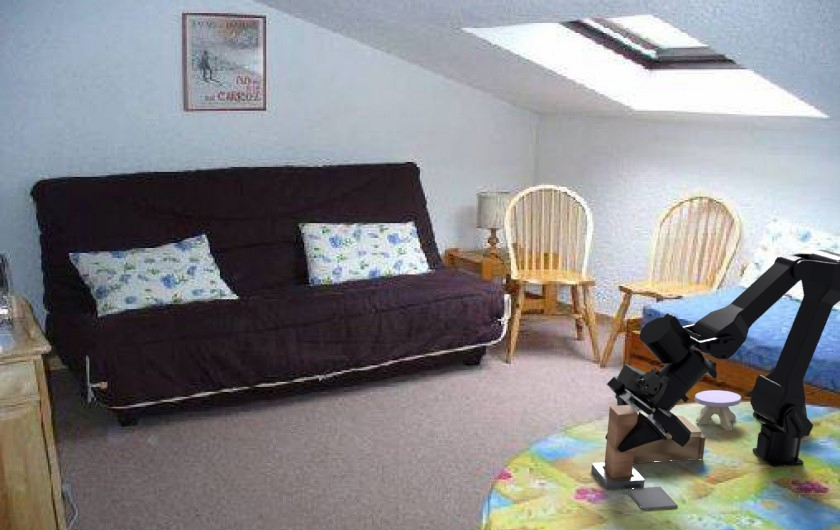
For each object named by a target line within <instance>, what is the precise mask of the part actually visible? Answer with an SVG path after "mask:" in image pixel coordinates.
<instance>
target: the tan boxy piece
mask: <svg viewBox="0 0 840 530" xmlns="http://www.w3.org/2000/svg"><path fill="white" fill-rule="evenodd" d="M705 444H706V436H704V435H703V434H702V433H701V437H691V438H690V440H689V441H688V442H687V443H686V444H685V445H684V447H681V446H680V445H679V444H677V443H676V442H675V441H674V440H673V439H667V440H664V439H661V440H658V441H654V442H651V443H647V444H644V445H641V446H638V447H636V448H635V449H634V459H633V465H634V463H636V464H646V463H645V462H651V463H655V462H654V461H666V462H674V461H673V460H681V461H689V460H688V459H696V460H698V459H703V460H704V454H705V453H704V452H705V446H706V445H705ZM670 460H672V461H670Z"/></svg>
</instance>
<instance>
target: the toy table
mask: <svg viewBox="0 0 840 530" xmlns="http://www.w3.org/2000/svg"><path fill="white" fill-rule="evenodd" d="M694 401H695V403H697V404H699V405H702V406H703V407H702V408H701V409H700V414H699V415H698V416H697V417H696V419H695V423H696V422H697V423H698V424H702V425H708V424H707V423H709V424H710V419H711V418H712V416H714V415H717V416H718V418H719V420H720V422H719V423H720V428H721V429H724V430H725V431H726V432H731V431H732V430H733V424H732V423H731V422H732V421H736V419H737V417H736V414H735V413H734V412H733V411H732V410H731V409H730V407H734V406H738V405H740V403H741V401H742V396H741V395H740V394H738V393H736V392H733V391H727V390H718V389H717V390H715V389H713V390H704V391H700V392H697V393H696V394H695V395H694ZM697 423H696V424H697ZM698 424H697V425H698Z"/></svg>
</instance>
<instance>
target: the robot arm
mask: <svg viewBox="0 0 840 530" xmlns="http://www.w3.org/2000/svg"><path fill="white" fill-rule="evenodd" d="M800 281H801V285H802V292H803V297H802V299H801V302H800V305H799V307H798V309H797V312H796V315H795V317H794V318H793V322H792V325H791V327H790V330H789V332H788V335H787V337H786V339H785V342H784V345H783V348H782V350H781V352H780V354H779V357H778V360H777V362H776V364H775V367H774V368H775V369H774V370H773V371H772V372H771V373H770V372H769V373H768V374H766V375H765V376H764V375H762V374H759V375H758V376H757V377H756V380H755V383H754V386H753V389H752V390H751V391H750V392H749V395H750V396H751V398H750V403H749V404H750V405H751V407H752V410H753V412H754V411H755V416H756V418H755V419H756V420H758V421H760V422H762V423H761V427H760V432H758V434H757V435H758V436H757V441H756V447H753V448H752V452H753V453H754V454H756V455H757V456H758V457H759V458H760V459H762V460H763V461H764V462H765V463H767V464H768V465H769V466H770V467H774V468H775V467H789V466H790V467H791V466H802V465H804V462H805V461H804V460H802V459H801V458H799V455H800V451H801V450H800V449H801V442H802V439H803V438H804V437H808V436H810V434H811V431H812V429H813V428H814V424H813V423H812V422H811V421H810V419H809V418H808V416H807V417H806V416H805V415H804V414H803V412H802V410H803V406H804V402H805V403H806V394H805V387H804V379H805V376H806V374H807V371H808V369H809V367H810V364H811V362H812V359H813V357H814V354H815V352H816V350H817V347H818V344H819V341H820V339H821V337H822V335H823V332H824V330H825V327H826V325H827V323H828V319H829V318H830V316H831V312H832V311H833V308H834V306H835V305H837V304H838V303H840V253H837V252H834V251H830V250H825V249H817V250H815V251H813V252H811V253H806V252H805V253H803V252H802V253H801V252H799V253H793V254H791V253H783V254H780V255H778V256H777V257H776V258H775V260H774V263H773V264H772V265H771V266H770V267H769V268H768V269H766V270H765V272H763V273H762V274H761V275H760V276H759V277H758V278H757V279H756V280H754V281H753V282H752V283H751V284H750V285H749V286H748V287H747V288H746V289H745V290H743V292H742V293H740V294H739V295H738V296H737V297H736V298H735V299H734V300H733V301H731V303H729V304H728V305H726V306H725V307H721V308H719V309H715V310H713V311H710V312H709V313H707V314H706V315H704V316H703V317H701V318H700V319H699V320H696V322H695V323H692V324H688V325H684V326H683V325H682V324H681V322H680V321H679V319H678V318H677V316H675V315H674V314H672V313H670V312H666V314H665V315H664V316H662V317H657V318H655V319H652V320H650V321H648V322H646V323H645V324H644V326H643V327H642V328H641V330H640V332H639V340H640V341H641V342H642V343H643V345H644V346H645V347H646V348H647V349H648V351H650V352H651V354H653V356H654V357H655V358H656V359H657V360H658V362H660V363H662V364H665V365H664V366H663V367H662V368H661V369H660V370H659V369H656V368H654V369H651V370H650V371H647V372H645V371H643V370H641V369H638V368H636V367H634V366H632V365H629V364H627V363H624V364H623V366H622V367H621V370H620V372H619V373H618V375H617V376H616V375H615V376H613V377H611V379H610V380H609V381H608V382H607V383H606V385H607V387H609V389H610V390H611V391H612V392H613V393H614V396H615V399H616V406H620V405H630V406H631V407H632V408H633V409H634V410H635V411H636V412H637V413H638V419H637V424H636V425H635V426H634V427H633V429H632V430H631V431H630V432H629V433H628V435H627V436H626V437H625V438H624V439H623V440H622V442H621V443H620V445H619V446H618V447H617V449H618V450H619V451H620V452H625V451H627V450H630V449H633V448H636V447H638V446H641V445H644V444H647V443H651V442H654V441H658V440H661V439H664V440H667V437H666V435H667V434H668V433H669V434H670V435H671V436H672V439H673V440H674V441H675V442H676V443H677V444H679V445H680V446H681V447H684V445H685V444H686V443H687V442H688V441H689V440H690V438H691V431H690V430H689V429H688V428H687V427H686V426H685V425H684V424H683V423H682V422H681V420H680V419H679V418H678V417H677V416H678V415H675V414H674V413H673V412H672V410H673V408H675V406H676V405H677V404H678V403H679V402H680V401H681V402H683V403H684V404H685V403H687V402H688V401H689V399H690V398H689V396H687V394H688V393H689V392H690V390H691V389H693V388H694V387H695V385H696V384H697V383H698V382H699V381H701V380H702V378H703V377H704V376H705V375H706V376H708V377H711V378H712V379H714V380H716V379H717V377H718V372H717V371H718V370H717V365H718V363H717V362H716V361H714V360H712V359H710V358H706V356H704V355H703V353H705V354H707V355H709V356H711V357H713V358H715V359H717V360H728V359H730V358H732V357H733V356H734V355H735V354H736V353H737V351H738V350H739V349H740V348H741V347H742V345H743V344H744V343H745V342H746V340H747V338H748V334H749V329H750V328H751V327H752V326H753V325H754V324H755V323H756V322H757V321H758V320H759V319H760V318H761V317H762V316H764V314H765V313H767V311H768V310H770V309H771V308H772V307H773V306H774V305H775V304H776V303H777V302H778V301H779V300H780V299H782V298H783V297H784V296H785V295H786V294H788V292H789V291H790V290H791V289H793V287H795V286H796V285H797V284H798V283H799V282H800ZM692 347H694V348H696V349H698V350H696V349H692ZM702 352H703V353H702ZM640 410H641V411H642V412H643V413H642V412H641V411H640ZM644 414H645V415H644ZM646 415H647V416H646ZM605 440H607V433H606V434H605Z"/></svg>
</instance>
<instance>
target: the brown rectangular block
mask: <svg viewBox="0 0 840 530" xmlns="http://www.w3.org/2000/svg"><path fill="white" fill-rule="evenodd" d="M638 414H639V412H636V411H635V410H634V409H633V408H632V407H631V406H630V405H620V406H617V405H610V406H609V412H608V424H607V432H606V434H607V439H606V445H605V456H604V463H605V465H604V470H605V471H606V473H607V474H608V475H609V476H610V478H624V477H632V468H633V467H634V464H633V459H634V449H635V448H633V449H630V450H627V451H625V452H620V451H619V450H618V449H617V447H618V446H619V445H620V443H621V442H622V440H623V439H624V438H625V437H626V436H627V435H628V433H629V432H630V431H631V430H632V429H633V427H634V426H635V425H636V424H637V419H638Z"/></svg>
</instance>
